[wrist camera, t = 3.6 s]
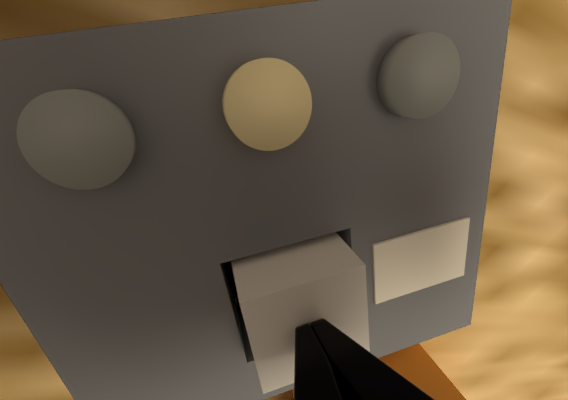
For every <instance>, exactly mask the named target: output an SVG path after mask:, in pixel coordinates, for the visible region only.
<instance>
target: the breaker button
mask: <svg viewBox="0 0 568 400" xmlns="http://www.w3.org/2000/svg"><path fill="white" fill-rule="evenodd" d="M231 264H232V269H233V274H234V279H235V284H236V289H237V294H238V299H239V304H240V308H241V311H242V315H243V319H244V323H245V327H246V330H247V334H248V338H249V342H250V346H251V349H252V353H253V357H254V361H255V365H256V368H257V372H258V376H259V380H260V384H261V387H262V391H263V394H265V393H268V392H271V391H273V390H276V389H279V388H282V387H284V386H287V385H290V384H293V383H294V366H295V328H296V327H298V326H301V325H304V324H307V323H308V324H310V323H311V322H313V321H316V320H319V319H325V320H327V321H328V322H330V323H331V324H332V325H334V326H335V327H336V328H338V329H339V330H340V331H342V332H343V333H345V334H346V335H347V336H349V337H350V338H351V339H353V340H354V341H355V342H357V343H358V344H360V345H361V346H362V347H364V348H365V349H366V350H368V351H369V352H370V344H369V323H368V303H367V282H366V265H365V264H364V263H363V261H362V260H361V259H360V258H359V257H358V256H357V255H356V254H355V253H354V252H353V250H352V249H351V248H350V247H349V246H348V245H347V244H346V243H345V242H344V241H343V239H342V238H341V237H340V236H339V235H338V234H337V233H336V232H334V233H330V234H327V235H323V236H319V237H316V238H312V239H308V240H305V241H301V242H297V243H294V244H290V245H286V246H283V247H279V248H276V249H272V250H268V251H265V252H261V253H257V254H254V255H250V256H246V257H243V258H239V259H235V260H232V261H231Z"/></svg>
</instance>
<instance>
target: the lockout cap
mask: <svg viewBox="0 0 568 400" xmlns="http://www.w3.org/2000/svg"><path fill="white" fill-rule="evenodd" d="M379 359H380V360H381V361H383V362H384V363H385V364H387V365H388V366H389V367H391V368H392V369H394V370H395V371H396V372H398V373H399V374H400V375H402V376H403V377H404V378H406V379H407V380H409V381H410V382H411V383H413V384H414V385H415V386H417V387H418V388H419V389H421V390H422V391H423V392H425V393H426V394H428V395H429V396H430V397H432V398H433V399H434V400H466V399H465V398H464V397H463V395H462V394H461V393H460V392H459V391H458V389H457V388H456V387H455V386H454V385H453V383H452V382H451V381H450V380H449V379H448V378H447V376H446V375H445V374H444V373H443V372H442V370H441V369H440V368H439V367H438V366H437V364H436V363H435V362H434V361H433V360H432V359H431V357H430V356H429V355H428V354H427V353H426V351H425V350H424V349H423V348H422V347H421V345H420V344H419V343H418V344H415V345H412V346H410V347H407V348H404V349H401V350H399V351H396V352H393V353H391V354H388V355H385V356H382V357H380V358H379ZM292 394H293V399H294V389H292Z"/></svg>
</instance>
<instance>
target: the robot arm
mask: <svg viewBox="0 0 568 400" xmlns="http://www.w3.org/2000/svg"><path fill="white" fill-rule="evenodd" d="M294 400H434V399H433V398H432V397H430V396H429V395H428V394H426V393H425V392H423V391H422V390H421V389H419V388H418V387H417V386H415V385H414V384H413V383H411V382H410V381H409V380H407V379H406V378H404V377H403V376H402V375H400V374H399V373H398V372H396V371H395V370H394V369H392V368H391V367H389V366H388V365H387V364H385V363H384V362H383V361H381V360H380V359H379V358H377V357H376V356H374V355H373V354H372V353H370V352H369V351H368V350H366V349H365V348H364V347H362V346H361V345H360V344H358V343H357V342H355V341H354V340H353V339H351V338H350V337H349V336H347V335H346V334H345V333H343V332H342V331H340V330H339V329H338V328H336V327H335V326H334V325H332V324H331V323H330V322H328V321H327V320H325V319H319V320H316V321H313V322H311V323H310V324H308V323H307V324H304V325H301V326H298V327H296V328H295V366H294Z"/></svg>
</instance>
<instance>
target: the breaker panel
mask: <svg viewBox="0 0 568 400" xmlns="http://www.w3.org/2000/svg"><path fill="white" fill-rule="evenodd" d="M511 4H512V0H316V1H308V2H300V3H292V4H284V5H276V6H268V7H260V8H252V9H244V10H236V11H228V12H220V13H212V14H204V15H196V16H188V17H180V18H172V19H165V20H157V21H149V22H141V23H133V24H125V25H117V26H109V27H101V28H93V29H85V30H77V31H69V32H61V33H53V34H45V35H37V36H29V37H21V38H13V39H5V40H0V284H1V286H2V287H3V289H4V290H5V292H6V294H7V295H8V297H9V298H10V300H11V301H12V303H13V304H14V306H15V308H16V309H17V311H18V312H19V314H20V315H21V317H22V319H23V320H24V322H25V323H26V325H27V326H28V328H29V329H30V331H31V333H32V334H33V336H34V337H35V339H36V340H37V342H38V343H39V345H40V347H41V348H42V350H43V351H44V353H45V354H46V356H47V358H48V359H49V361H50V362H51V364H52V365H53V367H54V368H55V370H56V372H57V373H58V375H59V376H60V378H61V379H62V381H63V382H64V384H65V386H66V387H67V389H68V390H69V392H70V393H71V395H72V397H73V398H74V400H264V399H267V398H270V397H272V396H275V395H278V394H281V393H283V392H286V391H289V390H292V389H294V383H293V384H290V385H287V386H284V387H282V388H279V389H276V390H273V391H271V392H268V393H265V394H263V391H262V387H261V384H260V380H259V376H258V372H257V368H256V365H255V361H254V357H253V353H252V349H251V346H250V342H249V338H248V334H247V330H246V327H245V323H244V319H243V315H242V311H239V312H238V311H237V307H236V303H235V300H234V296H233V292H232V289H231V285H230V281H229V278H228V274H227V270H226V266H225V263H224V262H228V261H232V260H235V259H239V258H243V257H246V256H250V255H254V254H257V253H261V252H265V251H268V250H272V249H276V248H279V247H283V246H286V245H290V244H294V243H297V242H301V241H305V240H308V239H312V238H316V237H319V236H323V235H327V234H330V233H334V232H336V233H337V234H338V235H339V236H340V237H341V238H342V239H343V241H344V242H345V243H346V244H347V245H348V246H349V247H350V248H351V249H352V250H353V252H354V253H355V254H356V255H357V256H358V257H359V258H360V259H361V260H362V261H363V263H364V264H365V265H366V282H367V303H368V323H369V344H370V353H372V354H373V355H374V356H376V357H377V358H380V357H382V356H385V355H388V354H391V353H393V352H396V351H399V350H401V349H404V348H407V347H410V346H412V345H415V344H418V343H421V342H423V341H426V340H429V339H432V338H434V337H437V336H440V335H443V334H445V333H448V332H451V331H454V330H456V329H459V328H462V327H465V326H467V325H470V324H471V318H472V310H473V302H474V294H475V286H476V278H477V271H478V263H479V255H480V247H481V239H482V231H483V224H484V216H485V208H486V200H487V192H488V184H489V176H490V169H491V161H492V153H493V145H494V137H495V129H496V122H497V114H498V106H499V98H500V90H501V82H502V74H503V67H504V59H505V51H506V43H507V35H508V27H509V19H510V12H511Z"/></svg>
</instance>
